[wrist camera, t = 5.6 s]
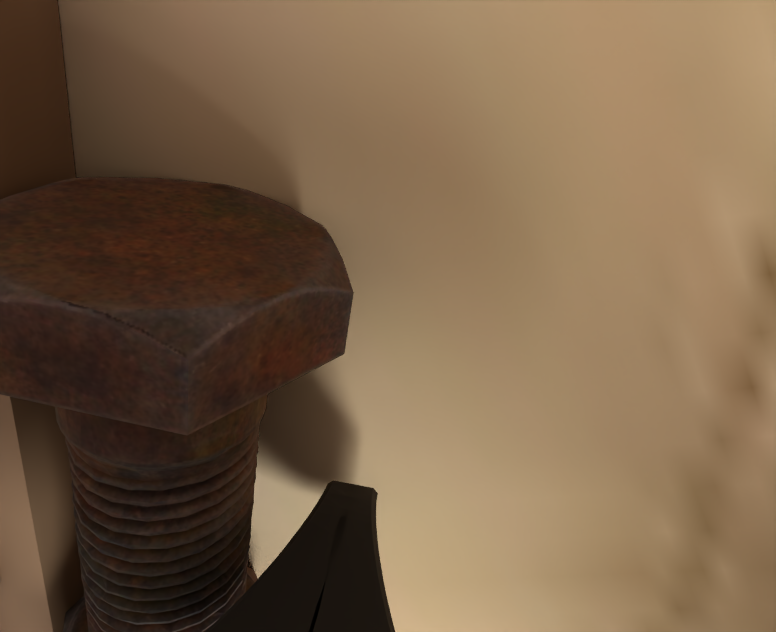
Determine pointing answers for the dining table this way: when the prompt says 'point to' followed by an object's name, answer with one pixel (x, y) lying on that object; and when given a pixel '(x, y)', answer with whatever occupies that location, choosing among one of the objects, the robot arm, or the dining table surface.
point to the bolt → (162, 373)
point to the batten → (13, 415)
